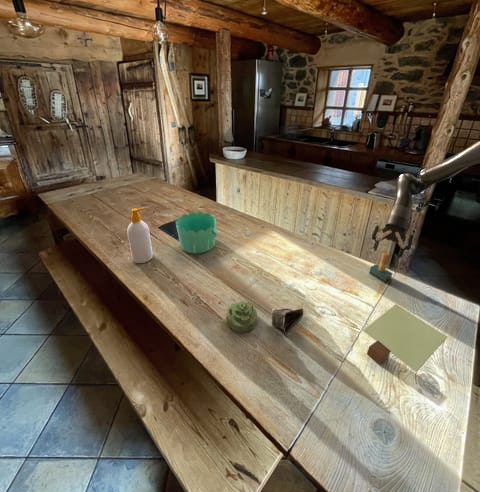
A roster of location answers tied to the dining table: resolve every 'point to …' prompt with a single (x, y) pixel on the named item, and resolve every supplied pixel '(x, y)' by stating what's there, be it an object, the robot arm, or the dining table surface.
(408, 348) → the mat
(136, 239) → the soap bottle
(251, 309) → the decorative artifact
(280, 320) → the dark flower pot
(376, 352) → the brown cube
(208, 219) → the basket
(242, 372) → the dining table surface
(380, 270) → the brush
